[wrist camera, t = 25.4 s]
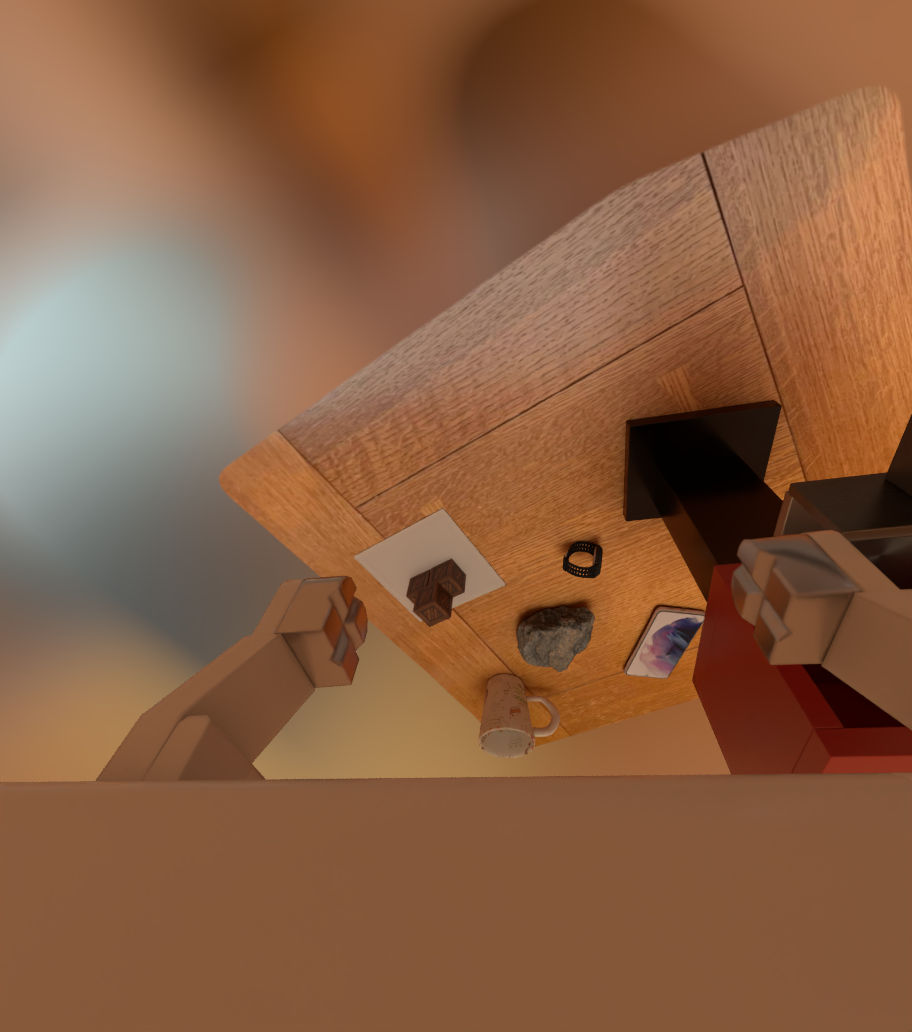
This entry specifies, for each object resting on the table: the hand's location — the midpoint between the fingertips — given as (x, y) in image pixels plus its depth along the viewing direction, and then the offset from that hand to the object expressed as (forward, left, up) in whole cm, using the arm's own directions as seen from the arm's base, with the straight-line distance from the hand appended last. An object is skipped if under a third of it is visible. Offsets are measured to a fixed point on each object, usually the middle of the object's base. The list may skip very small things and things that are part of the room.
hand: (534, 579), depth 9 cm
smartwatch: (+30, +6, -37) cm, 48 cm away
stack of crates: (+32, -14, -37) cm, 51 cm away
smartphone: (+50, +17, -37) cm, 65 cm away
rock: (+44, +2, -37) cm, 58 cm away
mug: (+59, -5, -37) cm, 70 cm away
